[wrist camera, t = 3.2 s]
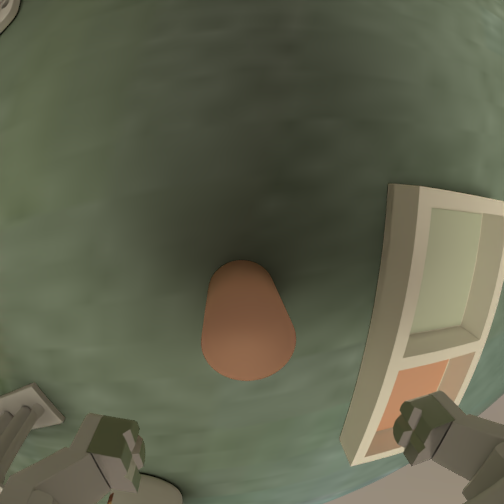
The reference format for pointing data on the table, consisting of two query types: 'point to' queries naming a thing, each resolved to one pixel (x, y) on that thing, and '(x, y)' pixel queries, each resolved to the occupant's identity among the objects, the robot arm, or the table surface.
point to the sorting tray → (425, 309)
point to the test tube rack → (22, 421)
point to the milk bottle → (148, 493)
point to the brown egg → (246, 323)
